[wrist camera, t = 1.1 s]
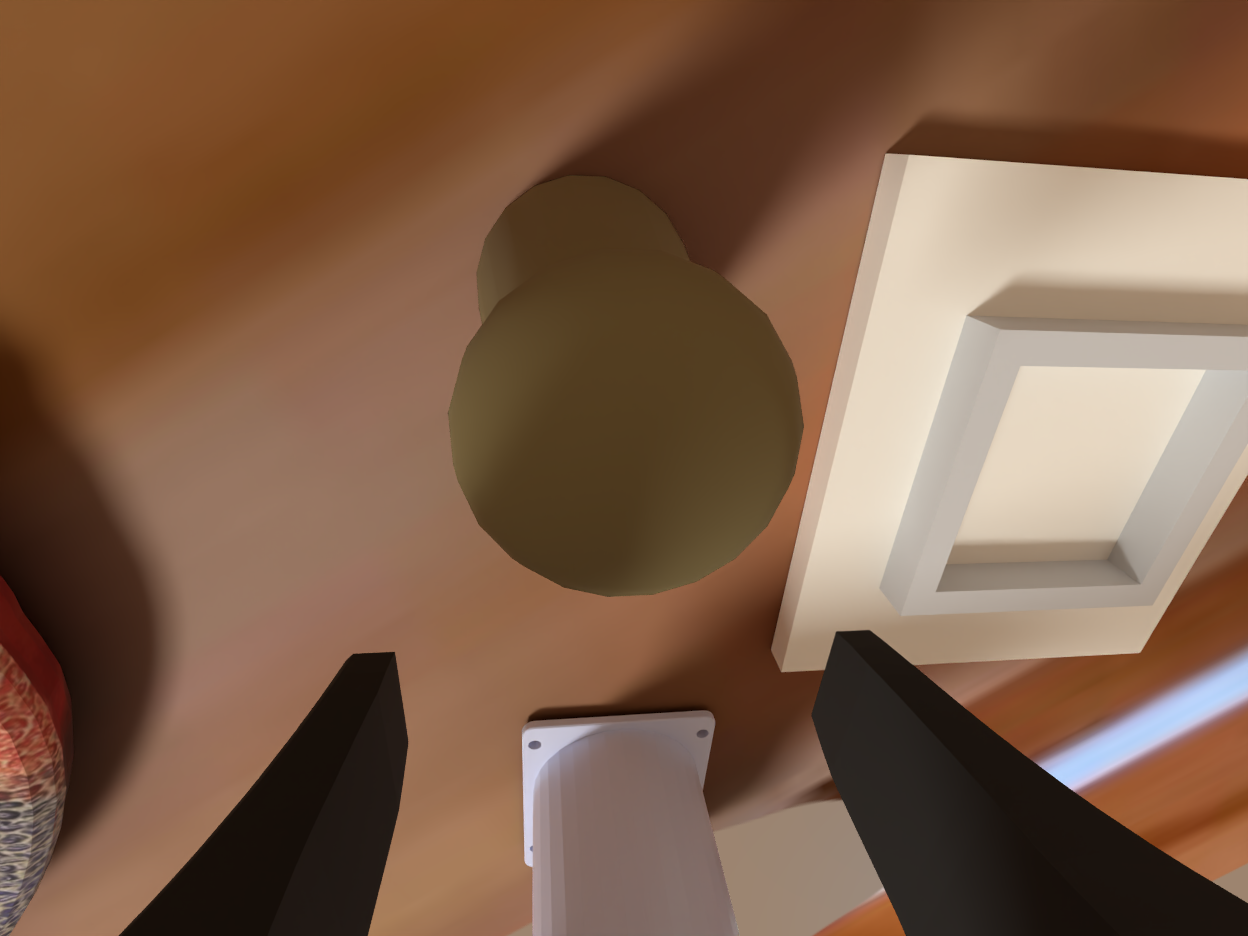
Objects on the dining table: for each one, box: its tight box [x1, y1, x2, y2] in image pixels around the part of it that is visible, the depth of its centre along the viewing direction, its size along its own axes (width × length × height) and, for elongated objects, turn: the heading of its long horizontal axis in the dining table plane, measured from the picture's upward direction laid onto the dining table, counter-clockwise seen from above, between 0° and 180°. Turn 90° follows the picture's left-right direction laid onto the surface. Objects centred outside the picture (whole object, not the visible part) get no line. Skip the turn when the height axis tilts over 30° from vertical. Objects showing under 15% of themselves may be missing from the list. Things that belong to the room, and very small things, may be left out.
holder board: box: [771, 154, 1248, 672], centre depth 21 cm, size 18×16×3 cm
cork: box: [448, 175, 804, 597], centre depth 13 cm, size 6×6×11 cm
